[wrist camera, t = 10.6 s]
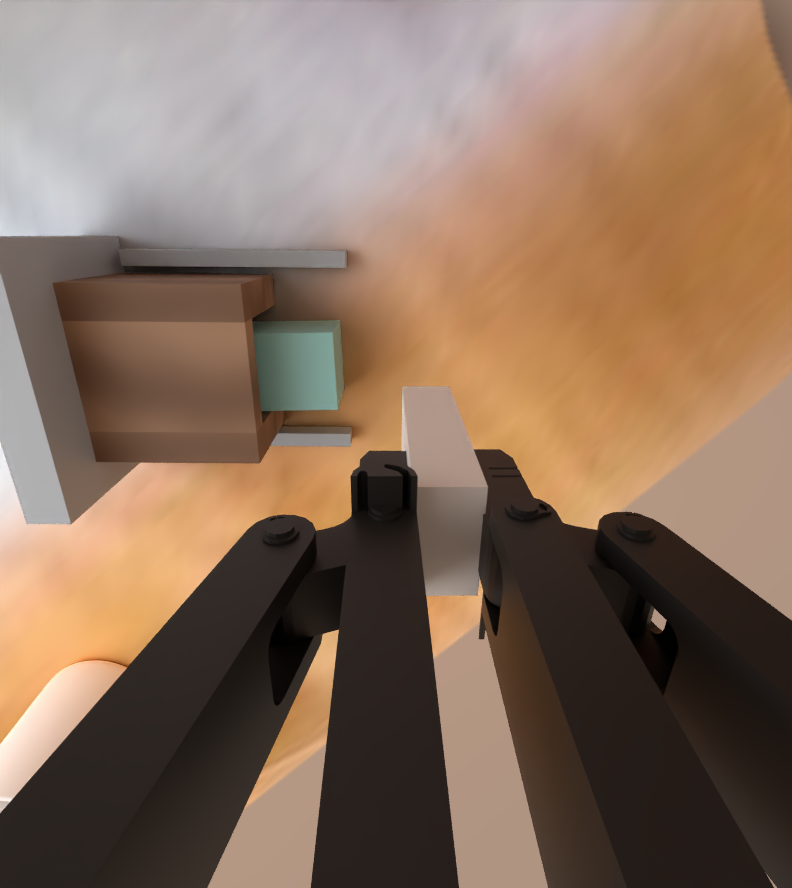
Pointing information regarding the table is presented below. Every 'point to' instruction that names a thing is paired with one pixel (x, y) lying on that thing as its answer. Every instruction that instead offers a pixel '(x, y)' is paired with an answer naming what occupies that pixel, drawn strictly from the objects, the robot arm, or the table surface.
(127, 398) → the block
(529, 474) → the table surface
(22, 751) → the mug
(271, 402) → the peg
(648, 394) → the table surface
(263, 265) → the wall
